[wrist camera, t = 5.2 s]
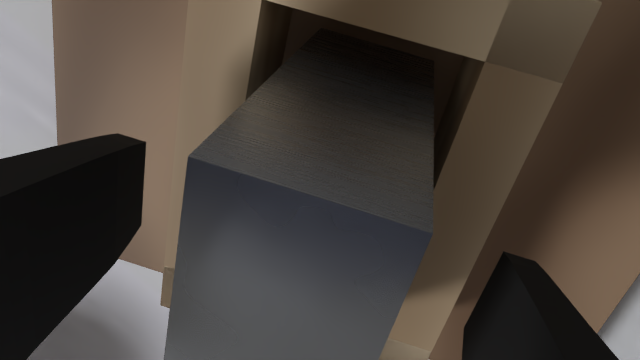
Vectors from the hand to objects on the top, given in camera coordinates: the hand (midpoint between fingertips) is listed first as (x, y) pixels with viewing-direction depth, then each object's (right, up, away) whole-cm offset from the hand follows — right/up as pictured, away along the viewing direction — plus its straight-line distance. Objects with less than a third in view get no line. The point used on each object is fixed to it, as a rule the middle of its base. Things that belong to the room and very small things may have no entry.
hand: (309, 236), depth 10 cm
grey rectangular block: (+1, +2, +4) cm, 5 cm away
